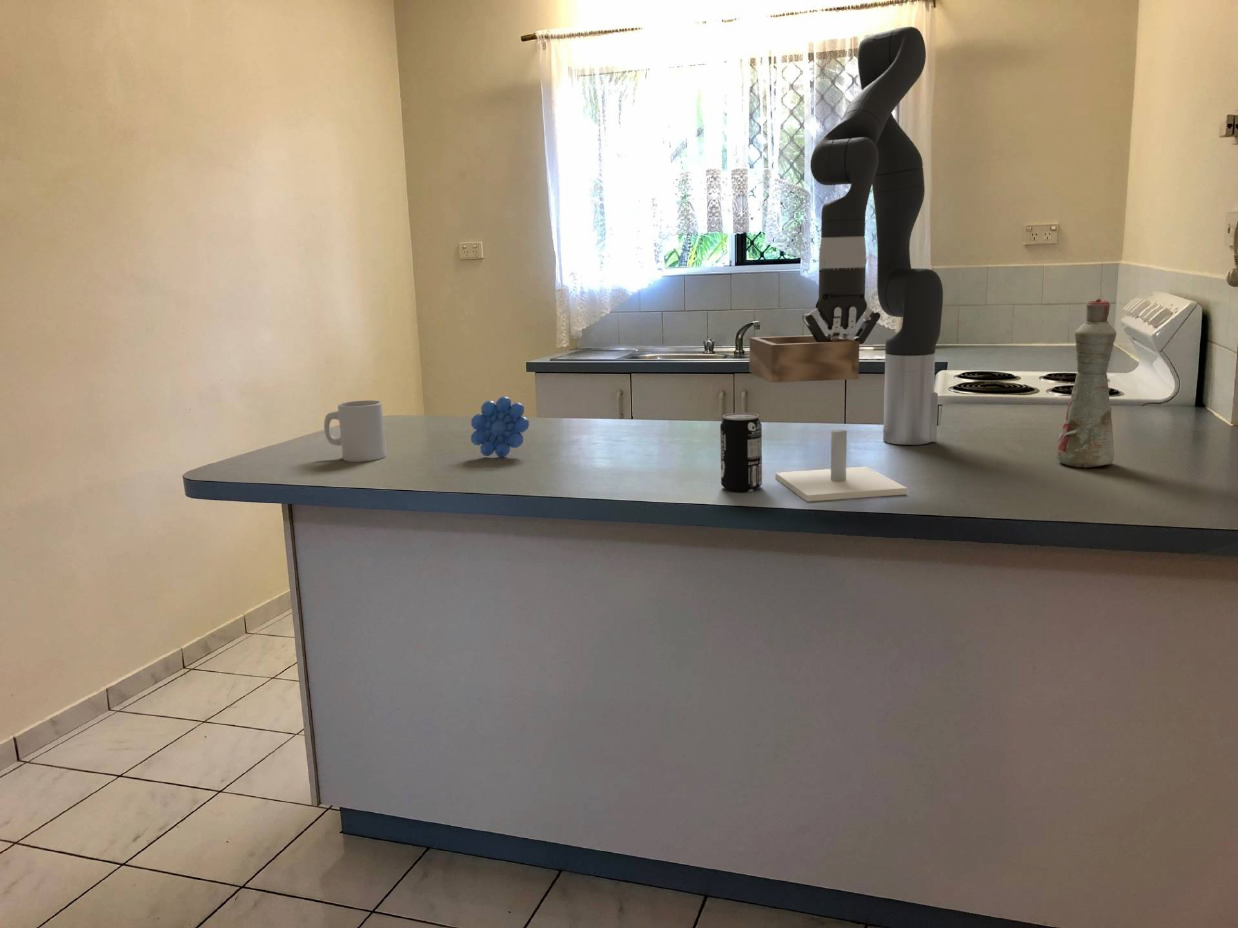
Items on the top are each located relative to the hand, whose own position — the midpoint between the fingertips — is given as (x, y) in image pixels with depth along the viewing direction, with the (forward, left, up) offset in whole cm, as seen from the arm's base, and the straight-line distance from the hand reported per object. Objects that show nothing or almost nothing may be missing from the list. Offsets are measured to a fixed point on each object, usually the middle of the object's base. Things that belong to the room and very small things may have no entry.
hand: (840, 370), depth 160 cm
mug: (+86, -40, -18) cm, 96 cm away
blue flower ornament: (+57, -32, -18) cm, 68 cm away
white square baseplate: (+4, +10, -17) cm, 21 cm away
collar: (+7, 0, -1) cm, 7 cm away
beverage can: (+19, +7, -18) cm, 27 cm away
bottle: (-41, +7, -18) cm, 45 cm away
